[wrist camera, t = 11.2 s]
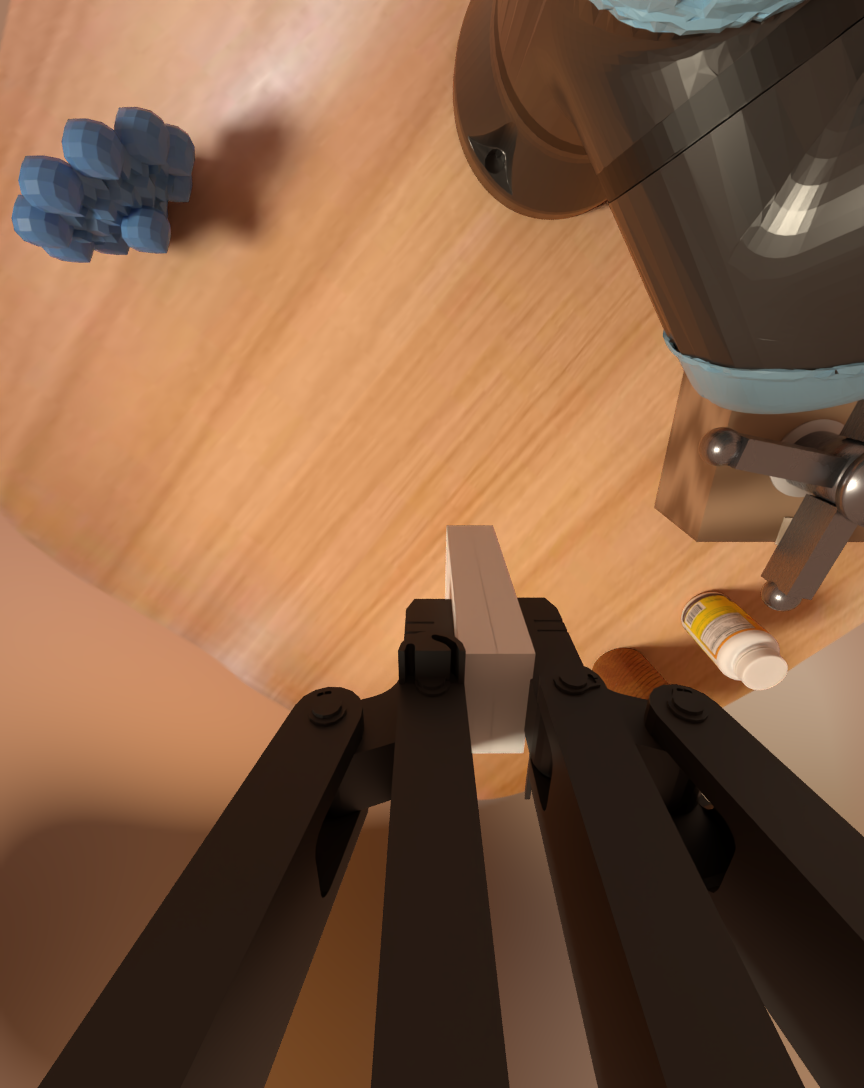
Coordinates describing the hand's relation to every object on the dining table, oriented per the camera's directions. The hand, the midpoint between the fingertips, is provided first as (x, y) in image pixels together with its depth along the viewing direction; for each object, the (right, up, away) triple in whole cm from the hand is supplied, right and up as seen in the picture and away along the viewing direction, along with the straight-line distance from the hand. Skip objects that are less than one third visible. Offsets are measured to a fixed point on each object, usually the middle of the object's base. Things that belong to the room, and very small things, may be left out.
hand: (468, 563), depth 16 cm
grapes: (-21, +25, +21) cm, 39 cm away
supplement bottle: (+28, -7, +36) cm, 46 cm away
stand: (+28, +11, +28) cm, 41 cm away
